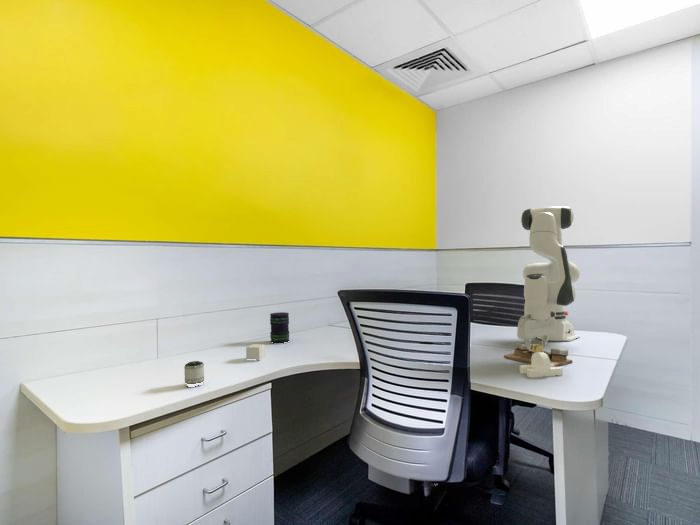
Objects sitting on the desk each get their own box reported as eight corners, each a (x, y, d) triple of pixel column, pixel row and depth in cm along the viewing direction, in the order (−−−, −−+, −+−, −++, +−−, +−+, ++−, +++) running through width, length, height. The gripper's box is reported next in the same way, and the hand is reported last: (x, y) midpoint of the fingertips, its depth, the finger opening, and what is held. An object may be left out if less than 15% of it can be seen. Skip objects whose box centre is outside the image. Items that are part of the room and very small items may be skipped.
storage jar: (290, 339, 207) (289, 312, 207) (288, 343, 198) (288, 314, 198) (271, 340, 207) (271, 312, 207) (269, 344, 197) (268, 315, 197)
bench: (527, 352, 169) (526, 340, 169) (572, 362, 151) (572, 349, 151) (504, 357, 161) (503, 345, 161) (549, 368, 144) (548, 354, 144)
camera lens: (203, 381, 137) (202, 359, 137) (205, 386, 132) (204, 363, 132) (184, 384, 134) (183, 361, 134) (185, 389, 129) (185, 365, 129)
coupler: (545, 357, 155) (545, 345, 155) (538, 359, 153) (538, 346, 153) (535, 355, 159) (535, 343, 159) (528, 356, 157) (528, 344, 157)
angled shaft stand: (551, 357, 155) (550, 347, 155) (568, 359, 152) (567, 348, 152) (550, 360, 152) (550, 349, 152) (567, 361, 149) (567, 351, 149)
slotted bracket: (550, 370, 143) (549, 349, 143) (563, 375, 136) (563, 353, 136) (518, 372, 140) (518, 351, 140) (531, 378, 133) (530, 355, 133)
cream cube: (246, 361, 164) (246, 347, 164) (252, 357, 170) (252, 344, 170) (259, 361, 163) (259, 347, 163) (265, 358, 169) (264, 344, 169)
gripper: (526, 317, 148) (527, 352, 148) (558, 312, 158) (559, 345, 159) (512, 315, 154) (513, 349, 154) (544, 310, 164) (544, 342, 164)
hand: (536, 347), depth 156 cm, fingers open, 8 cm apart
